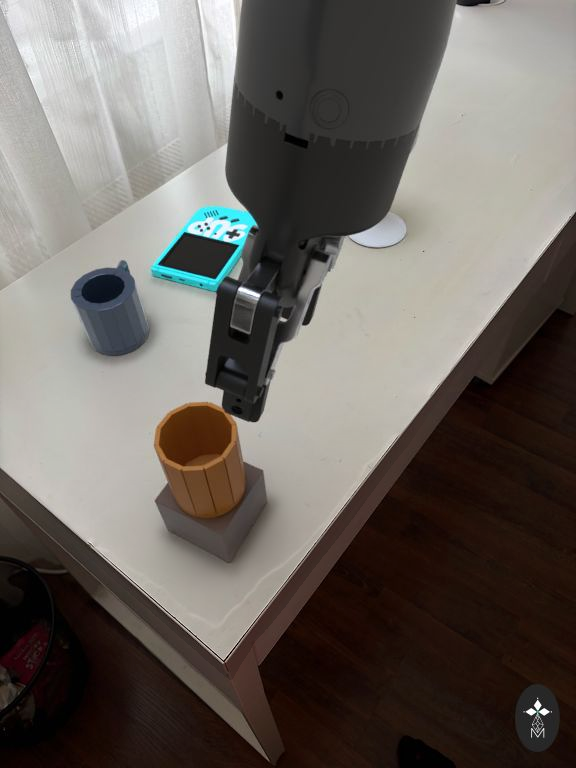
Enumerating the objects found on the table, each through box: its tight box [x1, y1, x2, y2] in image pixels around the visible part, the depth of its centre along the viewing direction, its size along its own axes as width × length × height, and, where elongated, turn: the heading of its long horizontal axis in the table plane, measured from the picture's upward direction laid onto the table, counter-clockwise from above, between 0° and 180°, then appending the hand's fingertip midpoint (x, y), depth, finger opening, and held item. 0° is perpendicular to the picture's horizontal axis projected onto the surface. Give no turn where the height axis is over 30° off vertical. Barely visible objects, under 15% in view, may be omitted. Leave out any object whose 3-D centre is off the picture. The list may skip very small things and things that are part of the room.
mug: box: [70, 259, 150, 357], centre depth 71 cm, size 10×7×8 cm
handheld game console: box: [150, 205, 257, 292], centre depth 82 cm, size 10×16×1 cm, turn 158°
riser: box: [154, 460, 268, 564], centre depth 55 cm, size 7×7×6 cm
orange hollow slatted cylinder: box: [153, 401, 246, 518], centre depth 49 cm, size 6×6×8 cm
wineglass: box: [348, 125, 421, 248], centre depth 76 cm, size 9×9×21 cm
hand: (269, 362), depth 35 cm, fingers open, 8 cm apart
